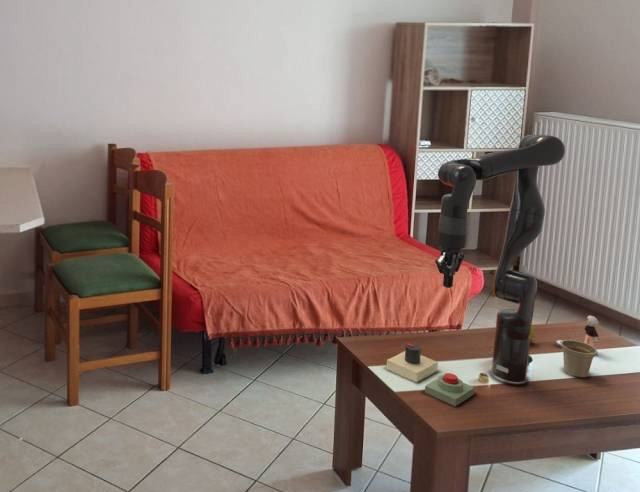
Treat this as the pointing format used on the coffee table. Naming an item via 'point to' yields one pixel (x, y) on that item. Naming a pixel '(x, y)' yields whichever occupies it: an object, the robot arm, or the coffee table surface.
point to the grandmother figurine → (591, 331)
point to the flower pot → (577, 357)
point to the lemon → (532, 333)
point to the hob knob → (412, 353)
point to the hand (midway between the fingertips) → (447, 286)
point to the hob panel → (412, 367)
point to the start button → (450, 378)
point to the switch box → (449, 391)
